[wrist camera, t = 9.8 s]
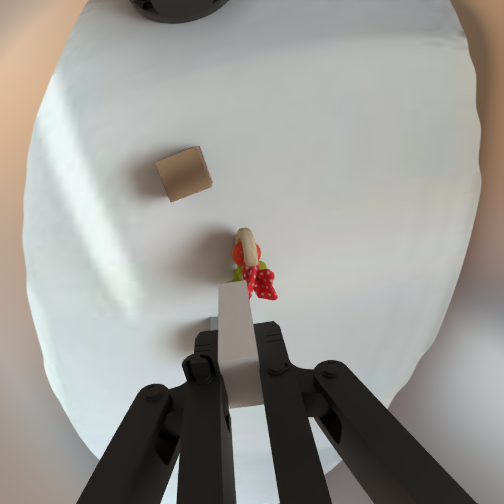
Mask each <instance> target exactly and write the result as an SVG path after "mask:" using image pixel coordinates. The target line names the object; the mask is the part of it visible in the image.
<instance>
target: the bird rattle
mask: <svg viewBox="0 0 504 504" xmlns="http://www.w3.org/2000/svg"><path fill="white" fill-rule="evenodd" d="M260 256H261V251H260V248H259V246H258V245H257V244H256V243H255V239H254V236H253V233H252V231H251V230H250V229H248V228H241V229H239V230H238V232H237V234H236V237H235V246H234V248H233V251H232V257H233V260H234V262H235V263H236V264H237V270H236V271H235V273H234V279H233V280H232V281H229V282H227V283H230V282H237V281H244V280H246V282H247V288H248V295H249V300H250V298H251V295H252V292H253V290H254V291H255V293H256V294H257V296H258V298H264V299H269V300H276V299H277V298H278V296H277V294H276V292H275V290H274V288H273V286H272V283H273V280H274V273H273V272H272V271H270V270H269V269H267V267H266V264H265V263H264V262H262V261H259V259H260Z"/></svg>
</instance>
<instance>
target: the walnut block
mask: <svg viewBox="0 0 504 504" xmlns="http://www.w3.org/2000/svg"><path fill="white" fill-rule="evenodd" d="M155 163H156V166H157V168H158V171H159V174H160V176H161V179H162V182H163V184H164V187H165V189H166V192H167V194H168V197H169V199H170V202H174V201H176V200H179V199H181V198H184V197H186V196H189V195H192V194H194V193H197V192H200V191H202V190H205V189H208V188H210V187H211V186H212V183H213V182H212V179H211V176H210V174H209V171H208V168H207V165H206V163H205V160H204V157H203V155H202V152H201V149H200V146H196V147H193V148H190V149H188V150H185V151H183V152H180V153H177V154H175V155H172V156H170V157H168V158H165V159H163V160H160V161H158V162H155Z"/></svg>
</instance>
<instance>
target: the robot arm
mask: <svg viewBox="0 0 504 504" xmlns="http://www.w3.org/2000/svg"><path fill="white" fill-rule="evenodd" d="M227 1H228V0H130V2H131V3H132V5H133V6H134V8H135V9H136V10H137V11H138V12H139V13H140V14H142V15H143V16H145V17H147V18H149V19H151V20H154V21H158V22H162V23H184V22H190V21H194V20H197V19H200V18H203V17H205V16H208V15H210V14H212V13H213V12H215V11H217V10H218V9H220V8H221V7H222V6H223V5H224V4H226V2H227ZM182 368H183V371H184V374H185V376H186V379H187V382H185V383H184V384H182V385H180V386H178V387H175V388H171V389H168V388H167V387H166V386H164V385H162V384H151V385H147V386H145V387H144V388H142V389H141V390H140V392H139V393H138V394H137V396H136V398H135V400H134V401H133V403H132V405H131V406H130V408H129V410H128V412H127V413H126V415H125V417H124V419H123V420H122V422H121V424H120V426H119V427H118V429H117V431H116V433H115V434H114V436H113V438H112V440H111V442H110V443H109V445H108V447H107V449H106V450H105V452H104V454H103V456H102V458H101V459H100V461H99V463H98V465H97V467H96V468H95V471H94V472H93V474H92V476H91V477H90V479H89V481H88V483H87V485H86V487H85V489H84V490H83V492H82V494H81V496H80V498H79V500H78V501H77V503H76V504H160V502H161V500H162V497H163V495H164V492H165V490H166V487H167V484H168V482H169V479H170V477H171V474H172V471H173V469H174V466H175V464H176V461H177V458H178V456H179V453H180V458H179V472H178V487H177V504H236V492H235V477H234V462H233V446H232V429H231V417H230V413H229V407H230V408H239V407H247V406H255V405H262V404H264V406H265V412H266V419H267V425H268V431H269V438H270V444H271V450H272V457H273V463H274V469H275V475H276V481H277V488H278V494H279V500H280V504H332V502H331V498H330V495H329V491H328V487H327V484H326V480H325V477H324V473H323V469H322V466H321V462H320V459H319V455H318V452H317V448H316V444H315V441H314V437H313V434H312V430H311V427H310V423H309V420H308V417H314V419H315V421H316V422H317V424H318V425H319V427H320V428H321V430H322V431H323V432H324V434H325V435H326V437H327V438H328V440H329V441H330V443H331V444H332V445H333V447H334V448H335V450H336V451H337V453H338V454H339V455H340V457H341V458H342V460H343V461H344V462H345V464H346V465H347V467H348V468H349V469H350V471H351V472H352V474H353V475H354V476H355V478H356V479H357V481H358V482H359V483H360V485H361V486H362V487H363V489H364V490H365V492H366V493H367V494H368V496H369V497H370V498H371V500H372V501H373V502H374V504H477V503H476V502H475V501H474V500H473V499H472V498H471V497H470V496H469V495H468V494H467V493H466V492H465V491H464V489H463V488H462V487H461V486H460V485H459V484H458V483H457V482H456V481H455V480H454V479H453V478H452V477H451V476H450V475H449V474H448V473H447V472H446V471H445V470H444V469H443V468H442V467H441V466H440V465H439V463H438V462H437V461H436V460H435V459H434V458H433V457H432V456H431V455H430V454H429V453H428V452H427V451H426V450H425V449H424V448H423V447H422V446H421V445H420V444H419V442H418V441H417V440H416V439H415V438H414V437H413V436H412V435H411V434H410V433H409V432H408V431H407V430H406V429H405V428H404V427H403V426H402V425H401V424H400V422H399V421H398V420H397V419H396V418H395V417H394V416H393V415H392V414H391V413H390V412H389V411H388V410H387V409H386V408H385V407H384V405H383V404H382V403H381V402H380V401H379V400H378V399H377V398H376V397H375V396H374V395H373V394H372V393H371V392H370V391H369V390H368V388H367V387H366V386H365V385H364V384H363V383H362V382H361V381H360V380H359V379H358V378H357V377H356V376H355V375H354V374H353V372H352V371H351V370H350V369H349V368H348V367H347V366H346V365H345V364H343V363H342V362H339V361H336V360H327V361H323V362H321V363H319V364H317V366H316V367H315V368H314V369H302V368H298V367H296V366H294V365H293V364H292V363H291V362H290V360H289V357H288V354H287V350H286V347H285V343H284V340H283V336H282V333H281V329H280V326H279V325H278V324H276V323H275V322H274V321H271V322H264V323H258V324H253V320H252V314H251V308H250V301H249V295H248V288H247V282H246V280H244V281H237V282H230V283H223V284H219V311H218V330H211V331H203V332H200V333H199V334H198V336H197V337H196V339H195V348H194V354H192V355H190V356H188V357H187V358H186V359H185V360H184V361H183V363H182Z"/></svg>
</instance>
